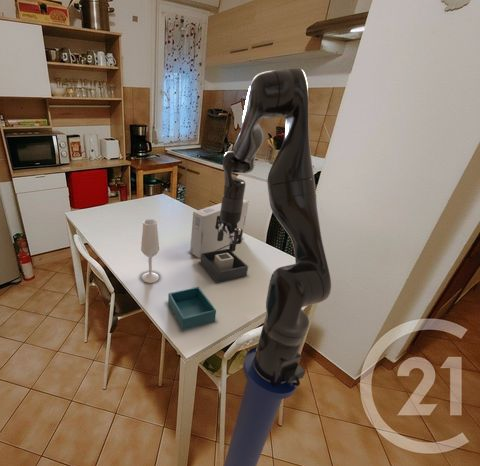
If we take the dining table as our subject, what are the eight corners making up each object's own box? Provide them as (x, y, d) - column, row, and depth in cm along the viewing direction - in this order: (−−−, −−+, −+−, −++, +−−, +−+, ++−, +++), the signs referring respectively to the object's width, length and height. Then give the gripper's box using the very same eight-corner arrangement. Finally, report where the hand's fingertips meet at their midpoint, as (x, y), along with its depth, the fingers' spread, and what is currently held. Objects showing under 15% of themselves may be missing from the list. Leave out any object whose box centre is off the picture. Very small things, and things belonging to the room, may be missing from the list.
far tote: (246, 275, 104) (248, 266, 102) (217, 282, 100) (218, 272, 98) (227, 257, 116) (228, 248, 114) (200, 262, 112) (201, 253, 110)
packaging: (232, 233, 136) (238, 197, 127) (242, 238, 132) (249, 201, 122) (189, 252, 120) (192, 211, 110) (199, 258, 115) (203, 216, 106)
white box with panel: (232, 269, 107) (234, 257, 104) (219, 272, 105) (220, 260, 103) (226, 263, 111) (227, 252, 108) (213, 266, 109) (215, 254, 106)
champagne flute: (159, 272, 105) (160, 218, 94) (158, 283, 99) (158, 226, 88) (143, 271, 106) (142, 217, 95) (140, 282, 100) (138, 225, 89)
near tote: (214, 321, 83) (216, 310, 81) (182, 330, 80) (183, 319, 78) (197, 296, 93) (198, 286, 91) (168, 303, 90) (168, 293, 88)
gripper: (212, 202, 100) (208, 238, 108) (233, 216, 89) (227, 257, 96) (229, 199, 103) (224, 236, 110) (252, 214, 91) (244, 253, 98)
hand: (225, 245), depth 103 cm, fingers open, 8 cm apart
